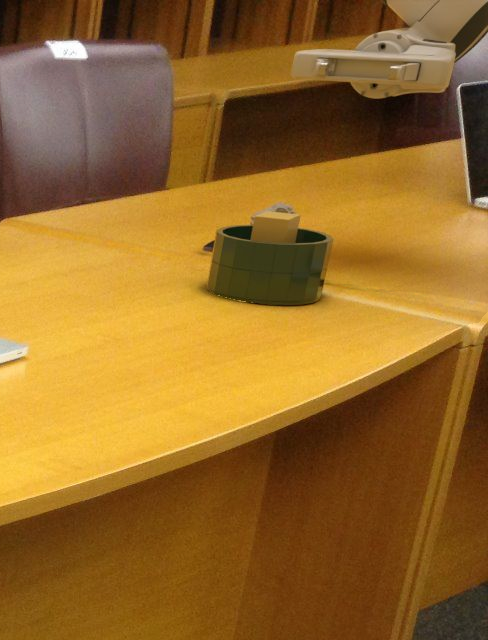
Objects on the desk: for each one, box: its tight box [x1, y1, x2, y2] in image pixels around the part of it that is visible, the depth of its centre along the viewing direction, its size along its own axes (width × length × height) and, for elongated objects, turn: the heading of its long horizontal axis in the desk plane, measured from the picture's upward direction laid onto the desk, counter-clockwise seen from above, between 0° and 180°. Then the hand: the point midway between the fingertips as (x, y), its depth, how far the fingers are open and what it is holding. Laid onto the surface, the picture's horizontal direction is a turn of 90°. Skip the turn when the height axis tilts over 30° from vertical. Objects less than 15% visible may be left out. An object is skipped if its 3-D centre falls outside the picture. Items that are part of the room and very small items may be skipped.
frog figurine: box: [249, 202, 298, 225], centre depth 238 cm, size 6×7×7 cm
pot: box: [206, 224, 334, 306], centre depth 209 cm, size 15×15×8 cm
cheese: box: [250, 211, 302, 244], centre depth 208 cm, size 4×5×10 cm
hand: (357, 71), depth 206 cm, fingers open, 8 cm apart
